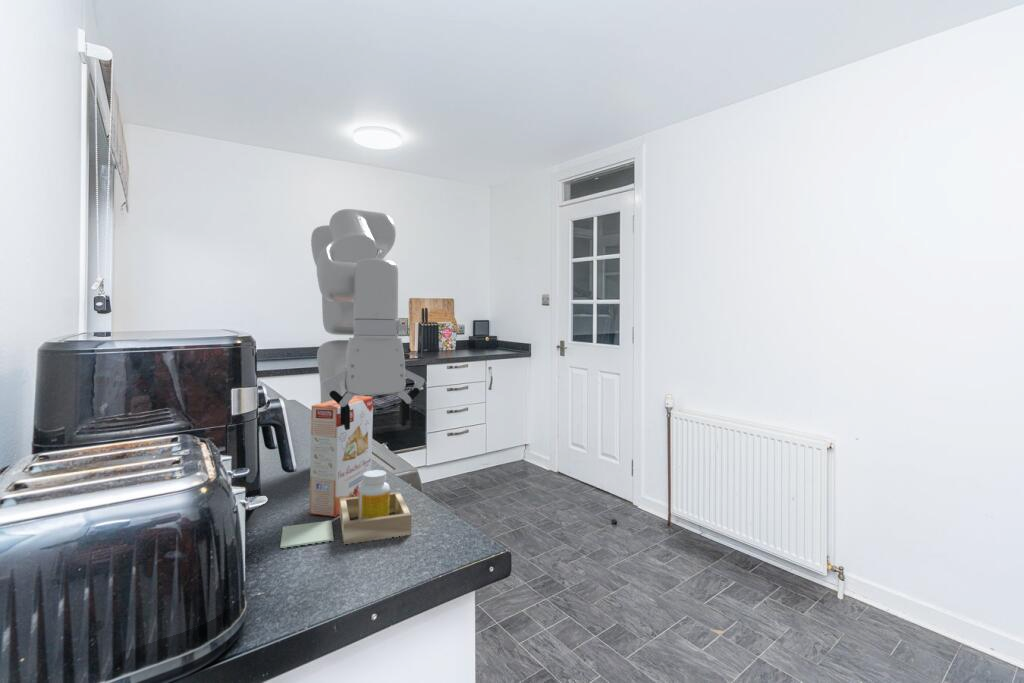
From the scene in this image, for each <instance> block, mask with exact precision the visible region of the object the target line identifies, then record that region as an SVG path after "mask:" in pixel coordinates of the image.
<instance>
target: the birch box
mask: <svg viewBox="0 0 1024 683" xmlns="http://www.w3.org/2000/svg"><path fill="white" fill-rule="evenodd" d="M358 511H359V497H350V498H342V499H340V514H339V522H340V528H341V534H342V541H343V542H344V543H343V546H346V545H345V544H348V545H352V544H351V543H354V544H360V543H359V542H361V543H365V542H366V541H367V542H373V541H372V540H374V541H380V539H381V540H386V538H387V539H393V538H392V537H394V538H400V537H405V536H406V535H407V536H412V513H411V512H410V511H411V510H409V507H408V505H407V503H406V501H405V500H404V498H403V496H402V494H401V492H400V491H395V492H390V508H389V516H382V517H375V518H367V519H360V520H358V519H353V520H350V519H352V518H358ZM390 513H394V514H391V515H390ZM399 536H400V537H399Z"/></svg>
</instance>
